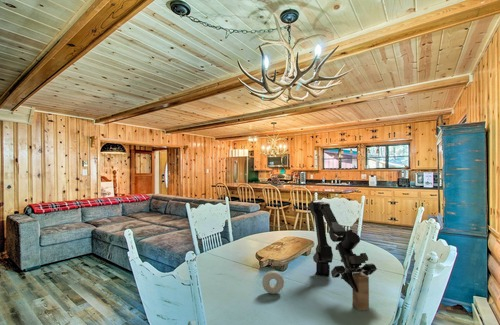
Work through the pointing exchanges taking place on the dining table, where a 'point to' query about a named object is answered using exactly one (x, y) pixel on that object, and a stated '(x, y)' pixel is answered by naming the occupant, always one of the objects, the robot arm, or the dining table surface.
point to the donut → (275, 288)
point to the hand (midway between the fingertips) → (362, 291)
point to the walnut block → (361, 291)
